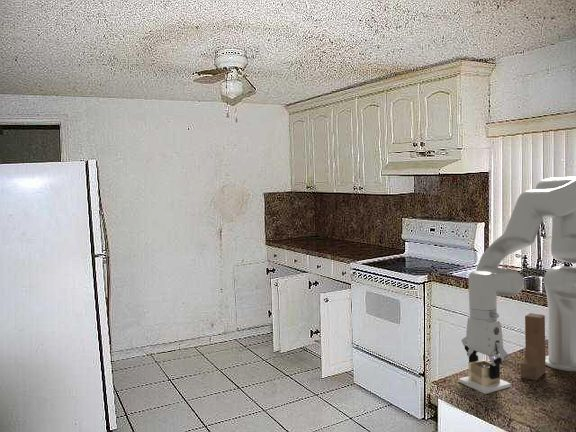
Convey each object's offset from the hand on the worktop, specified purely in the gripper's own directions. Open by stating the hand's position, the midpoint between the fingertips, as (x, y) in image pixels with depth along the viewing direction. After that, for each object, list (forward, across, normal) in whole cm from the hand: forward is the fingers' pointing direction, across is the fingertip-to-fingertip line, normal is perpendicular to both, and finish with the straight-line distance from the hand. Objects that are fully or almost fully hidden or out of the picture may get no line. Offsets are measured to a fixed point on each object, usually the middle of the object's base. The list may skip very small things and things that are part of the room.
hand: (484, 373), depth 141 cm
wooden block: (+4, -2, -18) cm, 18 cm away
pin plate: (+3, 0, 0) cm, 3 cm away
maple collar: (+2, 0, 0) cm, 2 cm away
